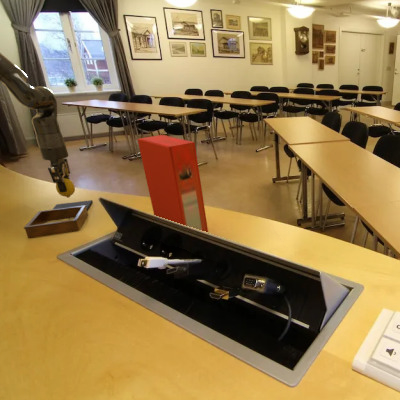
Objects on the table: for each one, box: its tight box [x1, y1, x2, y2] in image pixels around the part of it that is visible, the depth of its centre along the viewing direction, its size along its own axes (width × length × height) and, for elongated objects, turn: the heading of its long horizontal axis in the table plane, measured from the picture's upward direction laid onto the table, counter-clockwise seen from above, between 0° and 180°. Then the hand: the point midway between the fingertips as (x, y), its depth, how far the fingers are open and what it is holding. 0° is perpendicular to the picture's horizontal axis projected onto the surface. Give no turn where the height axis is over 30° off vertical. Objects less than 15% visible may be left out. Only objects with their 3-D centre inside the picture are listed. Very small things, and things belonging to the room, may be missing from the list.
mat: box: [52, 199, 93, 212], centre depth 125 cm, size 12×10×1 cm
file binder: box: [137, 134, 209, 233], centre depth 98 cm, size 8×17×32 cm, turn 53°
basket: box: [23, 205, 89, 239], centre depth 111 cm, size 14×14×4 cm
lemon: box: [55, 178, 76, 199], centre depth 122 cm, size 6×6×8 cm
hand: (65, 188), depth 122 cm, fingers closed on lemon, 5 cm apart
